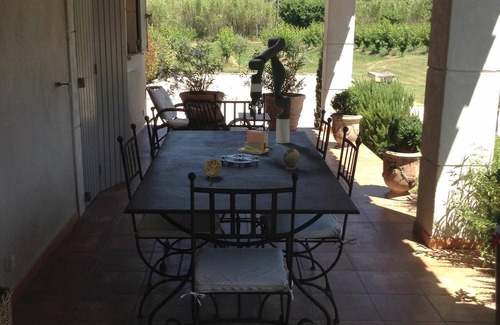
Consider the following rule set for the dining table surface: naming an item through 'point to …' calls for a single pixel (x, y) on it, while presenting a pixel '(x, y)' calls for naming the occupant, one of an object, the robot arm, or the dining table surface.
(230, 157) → the dining table surface
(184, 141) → the dining table surface
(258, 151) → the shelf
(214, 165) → the pine cone
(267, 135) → the ink box
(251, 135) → the tall salmon pink block
